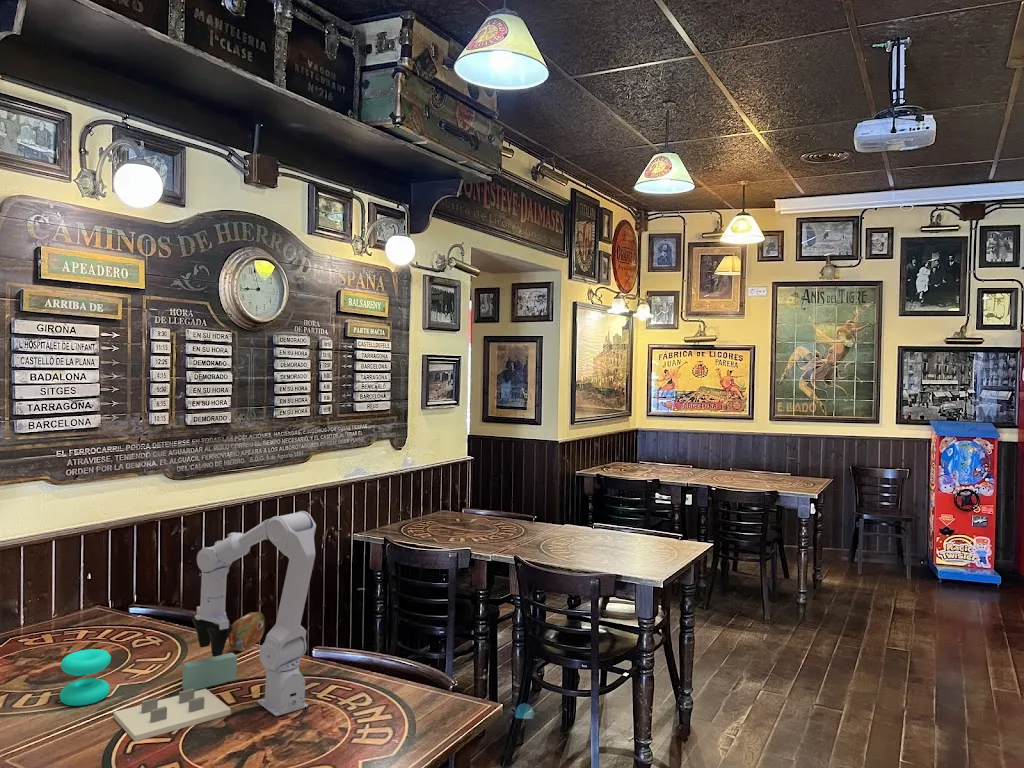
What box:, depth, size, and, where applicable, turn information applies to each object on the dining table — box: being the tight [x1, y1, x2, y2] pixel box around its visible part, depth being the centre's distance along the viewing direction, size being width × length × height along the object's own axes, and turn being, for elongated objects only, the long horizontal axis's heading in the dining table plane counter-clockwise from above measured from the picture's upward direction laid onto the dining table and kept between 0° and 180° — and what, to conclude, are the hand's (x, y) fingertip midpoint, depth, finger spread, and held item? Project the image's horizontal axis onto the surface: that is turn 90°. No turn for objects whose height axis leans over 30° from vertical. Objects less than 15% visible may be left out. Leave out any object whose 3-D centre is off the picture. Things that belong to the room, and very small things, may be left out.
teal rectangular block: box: [181, 652, 238, 691], centre depth 182 cm, size 3×12×6 cm, turn 134°
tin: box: [228, 611, 266, 652], centre depth 208 cm, size 15×3×8 cm, turn 168°
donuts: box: [59, 648, 112, 707], centre depth 171 cm, size 10×10×10 cm
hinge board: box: [112, 688, 232, 742], centre depth 164 cm, size 14×20×4 cm
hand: (210, 650), depth 182 cm, fingers open, 7 cm apart
